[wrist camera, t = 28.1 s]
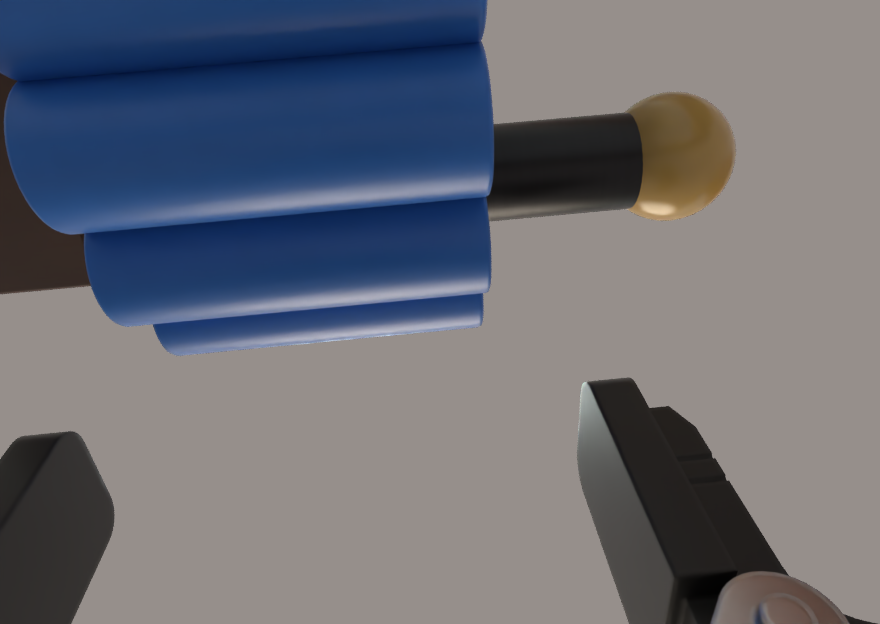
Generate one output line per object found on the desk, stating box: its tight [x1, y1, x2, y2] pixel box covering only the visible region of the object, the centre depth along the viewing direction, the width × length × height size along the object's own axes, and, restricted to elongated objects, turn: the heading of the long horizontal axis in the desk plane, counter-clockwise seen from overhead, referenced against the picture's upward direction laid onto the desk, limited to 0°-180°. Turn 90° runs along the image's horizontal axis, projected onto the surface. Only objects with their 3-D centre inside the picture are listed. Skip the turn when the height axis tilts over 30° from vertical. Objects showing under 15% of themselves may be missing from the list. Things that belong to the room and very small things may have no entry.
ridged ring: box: [0, 0, 494, 356], centre depth 11 cm, size 5×10×11 cm, turn 176°
